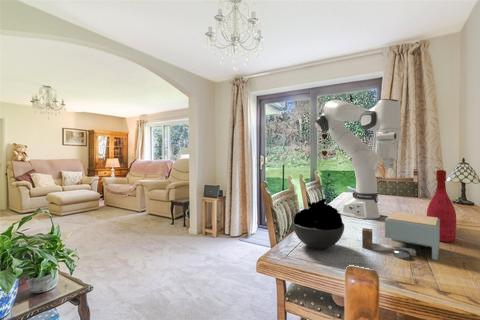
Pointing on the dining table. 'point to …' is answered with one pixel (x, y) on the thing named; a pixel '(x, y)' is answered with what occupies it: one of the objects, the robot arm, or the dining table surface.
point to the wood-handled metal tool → (369, 245)
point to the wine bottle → (443, 210)
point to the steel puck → (401, 253)
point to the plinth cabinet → (414, 230)
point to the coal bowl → (318, 225)
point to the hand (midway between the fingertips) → (388, 168)
